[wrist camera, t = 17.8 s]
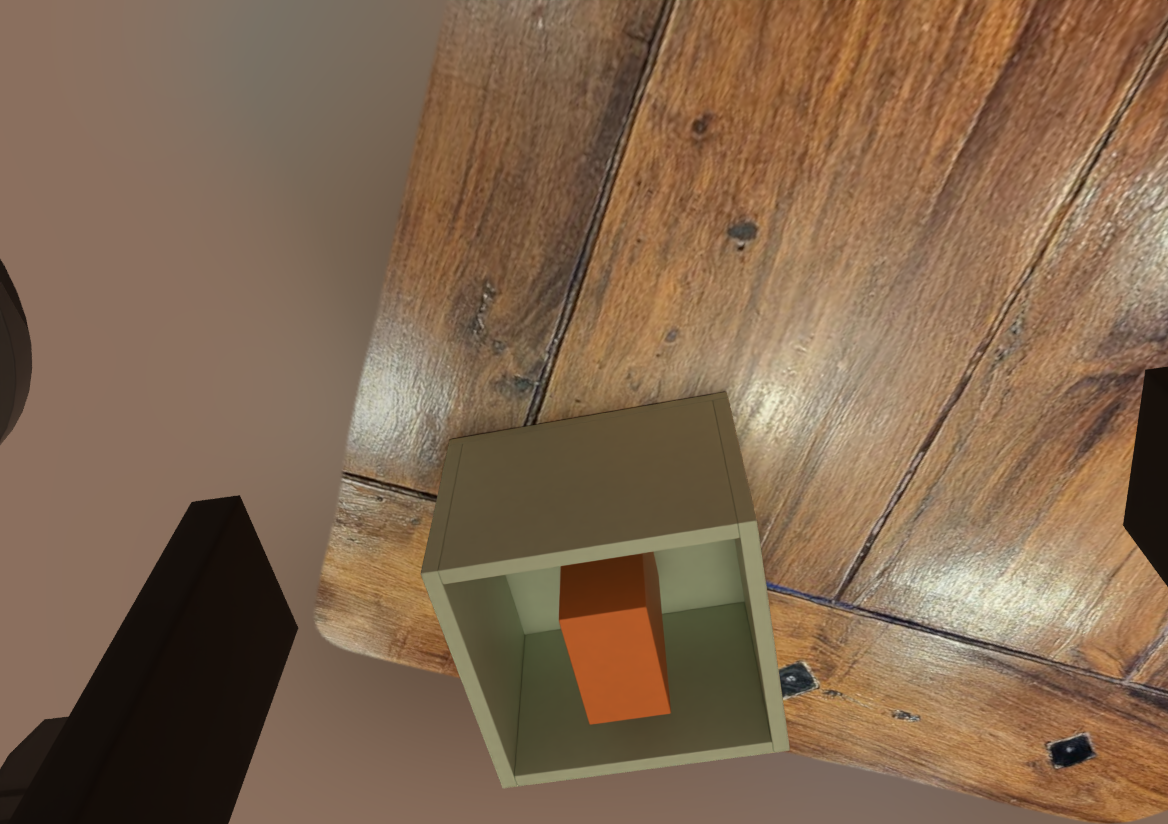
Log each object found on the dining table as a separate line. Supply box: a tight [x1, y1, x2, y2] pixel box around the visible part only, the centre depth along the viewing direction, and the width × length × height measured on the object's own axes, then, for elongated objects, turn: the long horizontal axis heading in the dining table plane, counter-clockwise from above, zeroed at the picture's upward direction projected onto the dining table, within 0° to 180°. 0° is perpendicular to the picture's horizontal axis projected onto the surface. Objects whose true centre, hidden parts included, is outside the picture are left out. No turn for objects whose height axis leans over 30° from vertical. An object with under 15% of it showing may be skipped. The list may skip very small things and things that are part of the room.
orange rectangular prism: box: [559, 552, 671, 725], centre depth 50 cm, size 4×7×10 cm, turn 12°
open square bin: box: [421, 392, 790, 788], centre depth 50 cm, size 15×15×11 cm
